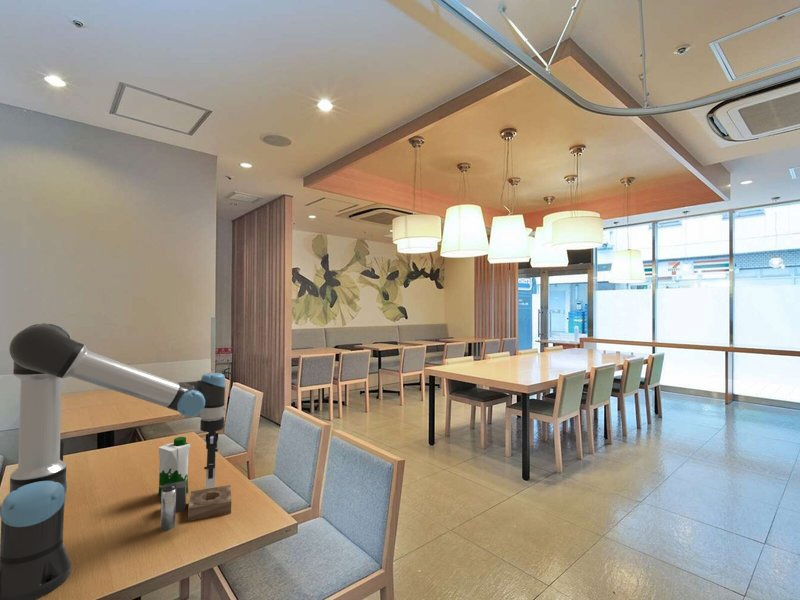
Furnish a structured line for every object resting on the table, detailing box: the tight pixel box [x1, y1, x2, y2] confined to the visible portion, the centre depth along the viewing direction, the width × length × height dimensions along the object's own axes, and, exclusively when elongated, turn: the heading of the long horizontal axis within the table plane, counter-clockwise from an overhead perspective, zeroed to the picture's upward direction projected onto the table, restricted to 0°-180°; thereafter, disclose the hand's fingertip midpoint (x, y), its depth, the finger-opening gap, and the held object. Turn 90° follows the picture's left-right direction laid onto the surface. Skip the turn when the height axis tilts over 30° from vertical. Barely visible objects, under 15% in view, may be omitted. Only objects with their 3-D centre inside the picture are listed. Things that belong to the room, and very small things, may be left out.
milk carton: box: [157, 436, 192, 498], centre depth 146 cm, size 9×9×20 cm
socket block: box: [187, 484, 232, 522], centre depth 137 cm, size 13×13×4 cm
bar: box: [175, 481, 187, 512], centre depth 136 cm, size 5×5×8 cm
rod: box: [160, 483, 176, 531], centre depth 125 cm, size 4×4×13 cm
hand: (210, 479), depth 137 cm, fingers open, 13 cm apart
